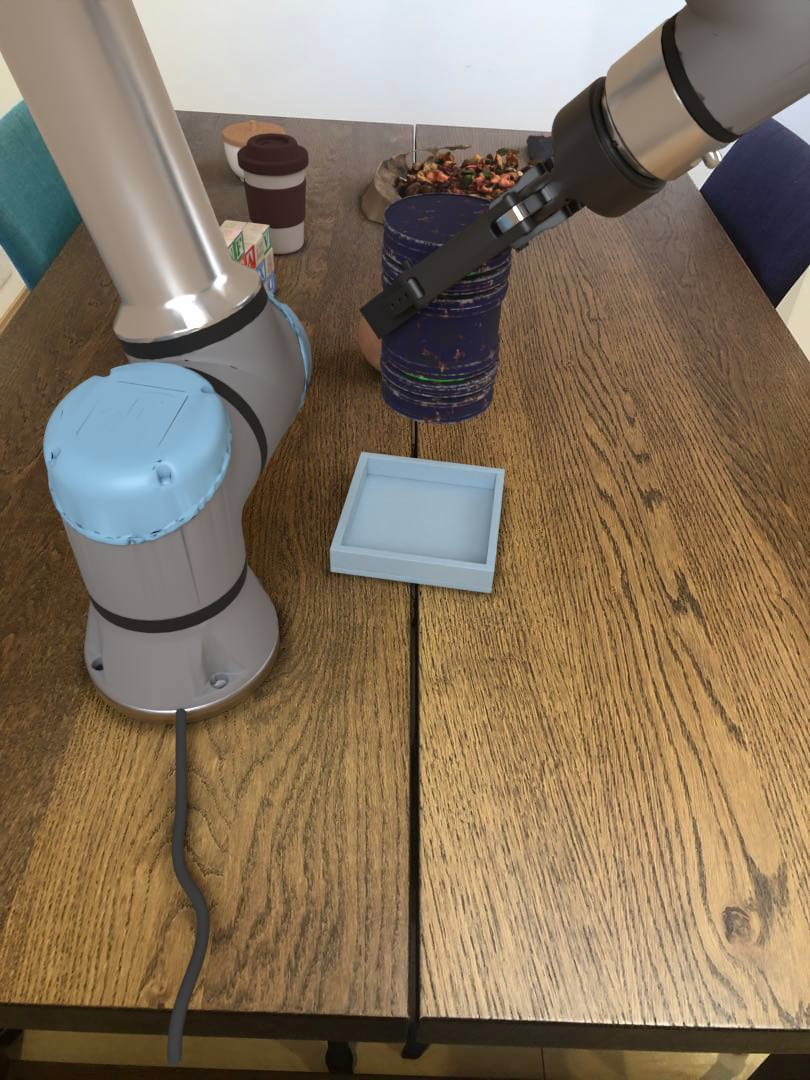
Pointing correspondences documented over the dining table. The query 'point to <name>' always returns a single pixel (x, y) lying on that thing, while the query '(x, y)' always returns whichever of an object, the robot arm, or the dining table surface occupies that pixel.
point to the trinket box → (244, 139)
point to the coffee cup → (276, 187)
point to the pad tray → (420, 522)
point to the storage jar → (442, 316)
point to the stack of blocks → (251, 248)
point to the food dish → (442, 177)
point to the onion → (369, 344)
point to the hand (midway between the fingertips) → (410, 297)
